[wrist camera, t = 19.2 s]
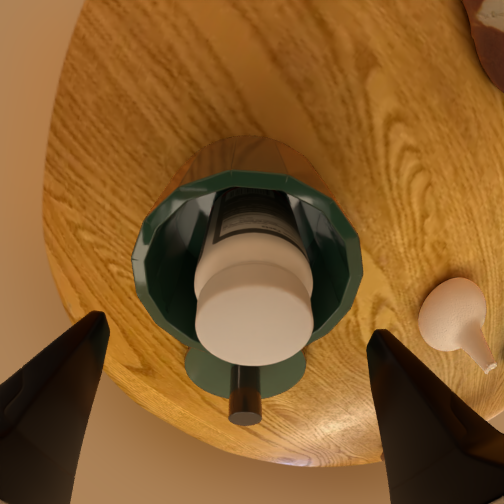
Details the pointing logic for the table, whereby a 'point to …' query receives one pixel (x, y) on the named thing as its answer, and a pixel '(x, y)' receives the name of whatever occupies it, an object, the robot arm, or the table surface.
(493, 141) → the table surface
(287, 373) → the lid
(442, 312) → the garlic bulb
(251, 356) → the pill bottle
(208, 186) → the pot
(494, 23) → the bread
